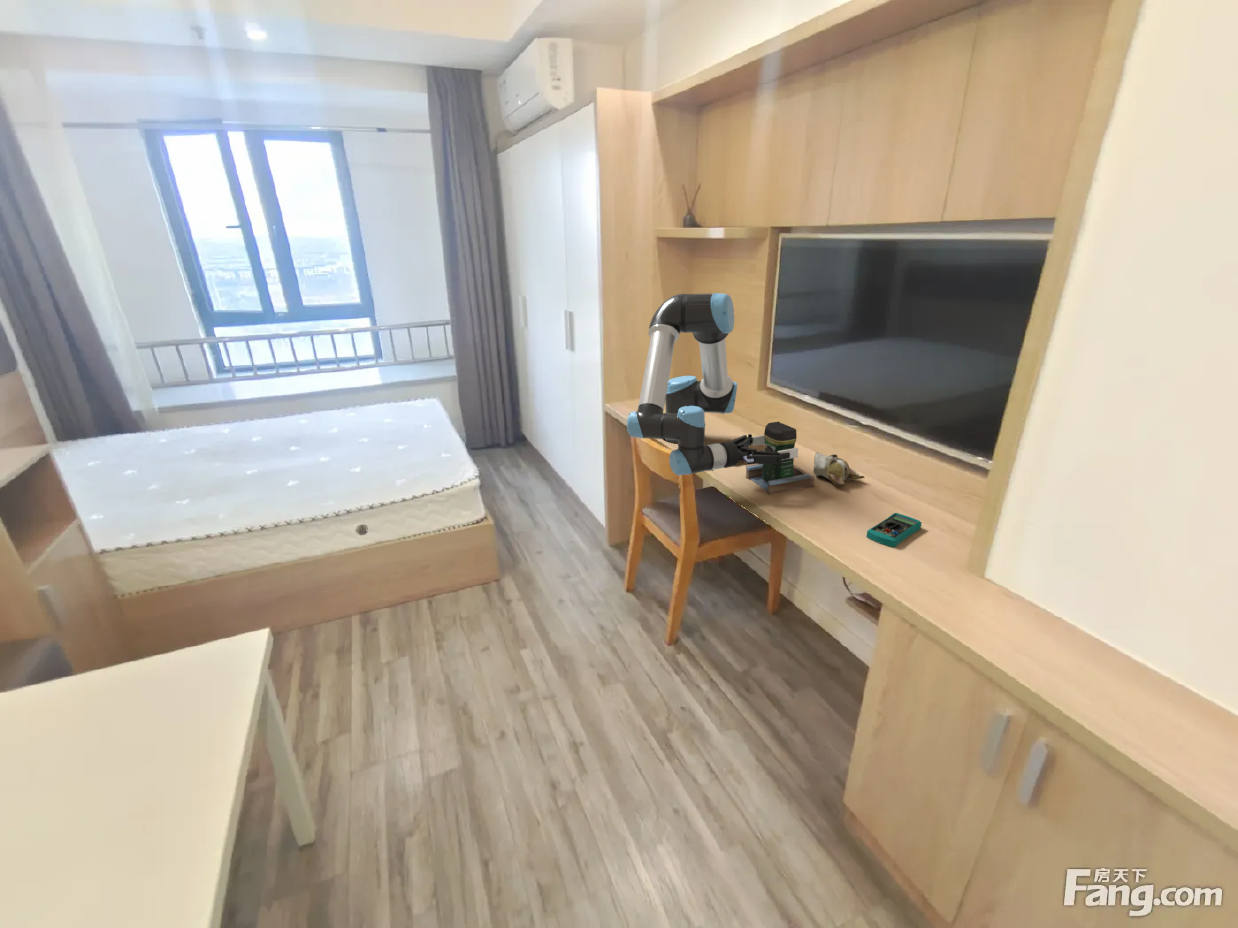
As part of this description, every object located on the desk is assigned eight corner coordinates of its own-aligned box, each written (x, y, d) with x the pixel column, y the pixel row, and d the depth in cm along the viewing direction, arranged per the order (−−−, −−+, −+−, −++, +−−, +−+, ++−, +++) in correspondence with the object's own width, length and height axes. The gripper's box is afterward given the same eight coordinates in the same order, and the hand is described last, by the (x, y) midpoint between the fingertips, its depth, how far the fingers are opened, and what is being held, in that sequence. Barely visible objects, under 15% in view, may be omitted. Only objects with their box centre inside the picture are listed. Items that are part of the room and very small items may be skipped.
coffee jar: (797, 484, 170) (802, 427, 163) (775, 489, 168) (779, 431, 161) (778, 473, 179) (782, 418, 172) (757, 477, 176) (760, 421, 169)
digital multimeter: (864, 539, 140) (865, 528, 139) (893, 520, 149) (895, 510, 147) (892, 550, 135) (894, 539, 134) (921, 530, 143) (923, 519, 142)
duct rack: (727, 464, 188) (727, 453, 187) (766, 457, 193) (767, 447, 191) (770, 494, 165) (770, 483, 164) (813, 486, 169) (814, 474, 168)
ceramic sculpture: (827, 443, 178) (869, 459, 167) (823, 467, 182) (864, 485, 170) (805, 451, 173) (846, 468, 161) (802, 476, 177) (842, 494, 165)
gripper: (702, 453, 175) (761, 444, 181) (742, 483, 153) (808, 471, 159) (702, 431, 173) (762, 422, 178) (743, 457, 151) (810, 446, 156)
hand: (784, 445), depth 169 cm, fingers open, 13 cm apart
